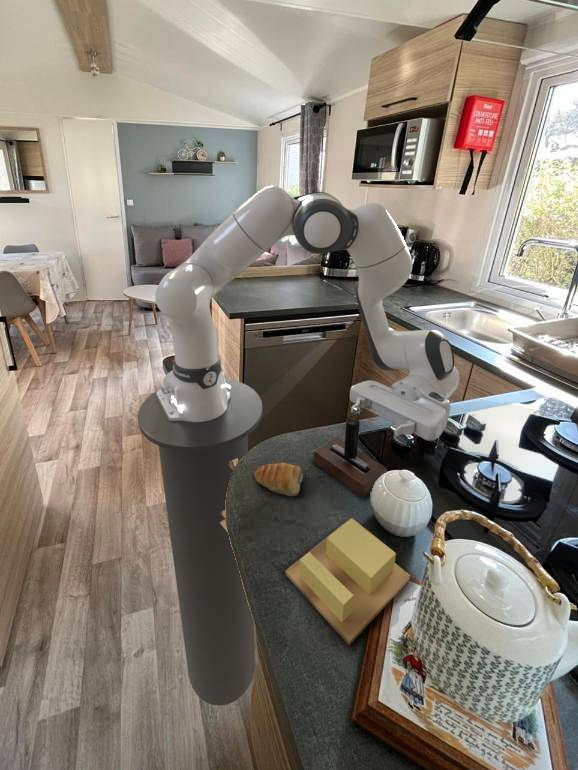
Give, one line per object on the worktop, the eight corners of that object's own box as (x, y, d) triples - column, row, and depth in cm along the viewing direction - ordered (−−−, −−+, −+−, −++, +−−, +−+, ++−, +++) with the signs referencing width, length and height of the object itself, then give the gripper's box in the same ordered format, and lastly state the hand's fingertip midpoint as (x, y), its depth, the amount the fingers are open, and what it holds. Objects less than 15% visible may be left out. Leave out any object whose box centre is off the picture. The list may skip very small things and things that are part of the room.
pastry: (250, 490, 73) (250, 474, 72) (258, 466, 80) (258, 451, 78) (299, 499, 71) (299, 483, 70) (303, 474, 77) (304, 459, 76)
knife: (329, 462, 80) (332, 414, 76) (337, 457, 81) (340, 409, 77) (361, 485, 74) (366, 433, 70) (369, 479, 75) (374, 428, 71)
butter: (325, 554, 60) (326, 537, 58) (350, 533, 63) (351, 517, 62) (369, 595, 54) (371, 577, 52) (393, 570, 57) (396, 553, 56)
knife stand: (313, 462, 80) (314, 450, 79) (336, 448, 84) (336, 436, 83) (362, 498, 71) (364, 485, 70) (385, 480, 75) (387, 468, 74)
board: (284, 574, 58) (285, 570, 57) (344, 525, 65) (345, 522, 65) (349, 645, 49) (349, 641, 48) (409, 579, 56) (410, 575, 56)
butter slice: (299, 576, 56) (299, 559, 55) (308, 568, 58) (309, 551, 56) (342, 622, 50) (343, 604, 49) (351, 613, 51) (353, 595, 50)
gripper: (371, 369, 92) (333, 388, 85) (458, 404, 77) (421, 431, 69) (369, 391, 95) (332, 412, 87) (453, 430, 79) (417, 459, 71)
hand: (372, 421), depth 78 cm, fingers open, 8 cm apart
